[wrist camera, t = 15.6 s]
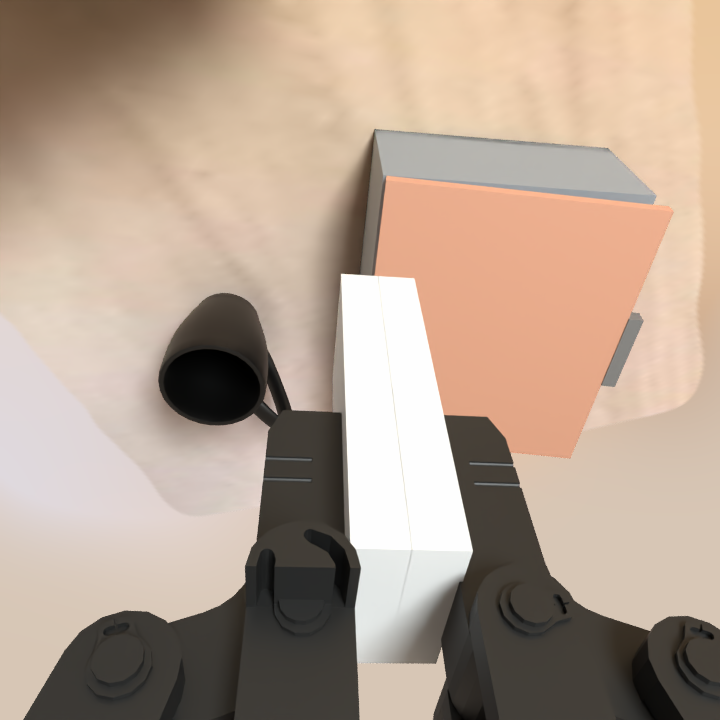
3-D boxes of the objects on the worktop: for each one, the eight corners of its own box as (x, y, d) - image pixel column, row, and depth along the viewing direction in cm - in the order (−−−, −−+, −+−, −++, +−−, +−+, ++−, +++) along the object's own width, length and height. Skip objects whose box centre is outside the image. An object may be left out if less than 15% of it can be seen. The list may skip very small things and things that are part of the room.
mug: (260, 392, 62) (250, 464, 54) (161, 317, 56) (135, 385, 49) (321, 346, 59) (320, 415, 51) (223, 261, 53) (206, 325, 45)
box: (350, 363, 60) (353, 429, 53) (374, 129, 47) (383, 175, 40) (533, 372, 62) (561, 437, 55) (608, 148, 48) (656, 195, 41)
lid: (355, 428, 53) (355, 437, 52) (386, 175, 40) (386, 180, 39) (579, 451, 53) (582, 460, 53) (684, 207, 40) (690, 214, 39)
